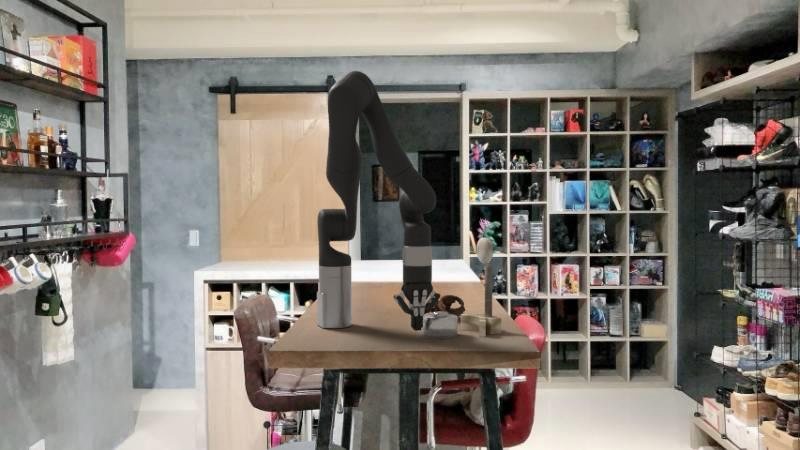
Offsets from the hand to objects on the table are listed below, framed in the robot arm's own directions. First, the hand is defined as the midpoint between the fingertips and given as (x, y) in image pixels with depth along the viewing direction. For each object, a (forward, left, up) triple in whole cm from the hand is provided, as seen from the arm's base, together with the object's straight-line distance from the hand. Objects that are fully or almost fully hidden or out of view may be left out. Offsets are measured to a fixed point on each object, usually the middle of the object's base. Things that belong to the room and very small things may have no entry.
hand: (417, 329), depth 166 cm
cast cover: (+7, 0, -2) cm, 7 cm away
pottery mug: (+19, +21, -2) cm, 28 cm away
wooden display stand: (+19, 0, -2) cm, 19 cm away
